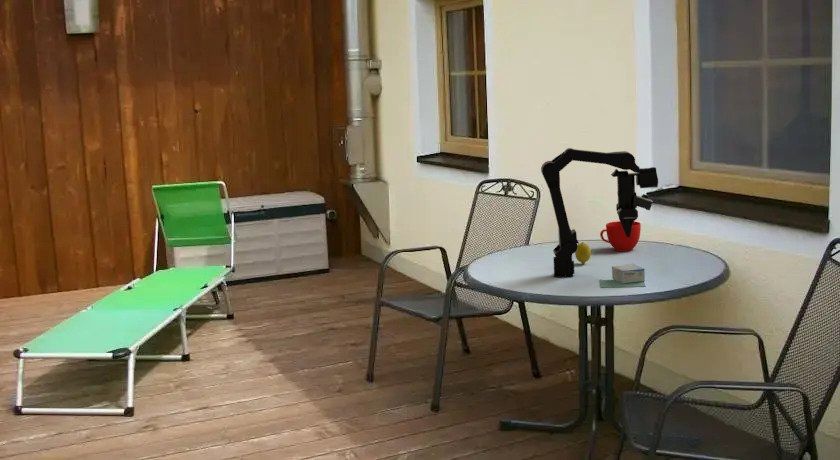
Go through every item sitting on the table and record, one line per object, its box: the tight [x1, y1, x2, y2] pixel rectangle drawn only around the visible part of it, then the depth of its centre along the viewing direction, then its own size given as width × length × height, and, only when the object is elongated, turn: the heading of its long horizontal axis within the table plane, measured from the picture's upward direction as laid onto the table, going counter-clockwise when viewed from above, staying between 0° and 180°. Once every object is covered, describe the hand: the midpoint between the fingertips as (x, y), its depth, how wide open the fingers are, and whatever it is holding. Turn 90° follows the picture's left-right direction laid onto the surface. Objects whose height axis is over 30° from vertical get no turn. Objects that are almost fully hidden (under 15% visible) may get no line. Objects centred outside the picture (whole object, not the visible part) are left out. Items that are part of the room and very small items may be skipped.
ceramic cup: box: [599, 220, 642, 252], centre depth 367 cm, size 13×17×10 cm
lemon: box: [575, 241, 592, 265], centre depth 347 cm, size 6×6×8 cm
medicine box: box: [611, 263, 646, 284], centre depth 316 cm, size 8×4×9 cm
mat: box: [599, 279, 646, 289], centre depth 313 cm, size 14×10×1 cm
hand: (627, 234), depth 327 cm, fingers open, 9 cm apart
